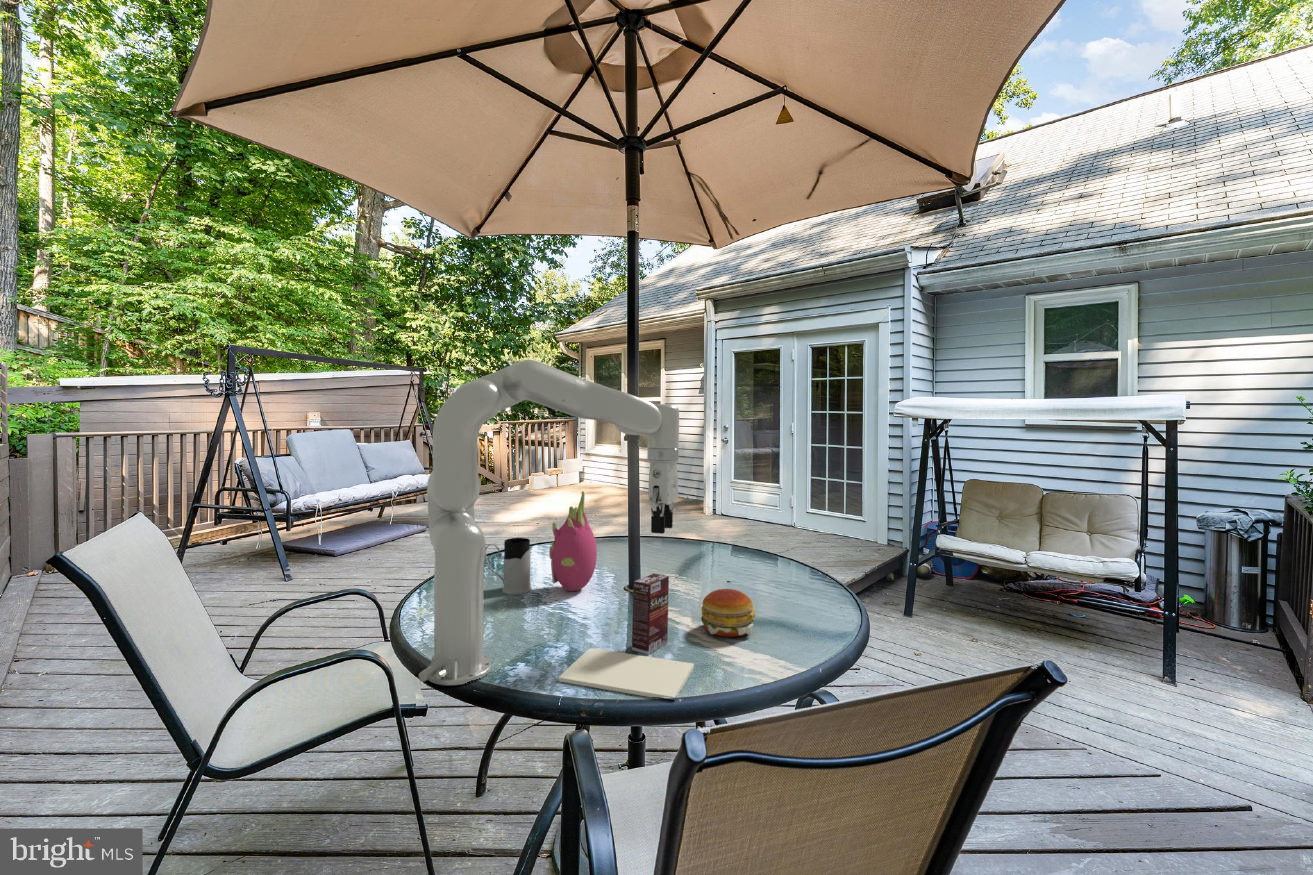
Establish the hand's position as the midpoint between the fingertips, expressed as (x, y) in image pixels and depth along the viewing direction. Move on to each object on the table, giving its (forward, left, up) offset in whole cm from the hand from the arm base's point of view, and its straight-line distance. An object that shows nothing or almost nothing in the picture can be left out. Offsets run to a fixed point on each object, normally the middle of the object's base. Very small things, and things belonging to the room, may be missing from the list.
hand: (662, 529), depth 136 cm
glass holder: (+18, +54, -26) cm, 62 cm away
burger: (+8, -15, -26) cm, 31 cm away
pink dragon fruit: (+24, +35, -26) cm, 50 cm away
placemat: (-23, 0, -26) cm, 34 cm away
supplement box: (-8, 0, -26) cm, 27 cm away
